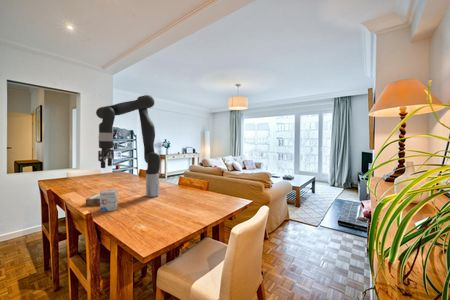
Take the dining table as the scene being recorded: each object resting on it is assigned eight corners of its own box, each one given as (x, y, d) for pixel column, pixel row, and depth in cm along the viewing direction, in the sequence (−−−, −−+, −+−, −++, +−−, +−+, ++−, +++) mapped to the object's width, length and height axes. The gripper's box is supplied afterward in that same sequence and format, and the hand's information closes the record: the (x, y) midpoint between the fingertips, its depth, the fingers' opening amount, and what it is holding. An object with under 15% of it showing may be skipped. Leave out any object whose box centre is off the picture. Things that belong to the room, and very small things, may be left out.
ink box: (99, 212, 112) (99, 192, 111) (101, 209, 117) (101, 190, 116) (116, 210, 115) (115, 191, 114) (117, 207, 120) (117, 189, 119)
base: (115, 198, 137) (115, 192, 137) (107, 204, 124) (107, 198, 124) (96, 199, 135) (95, 193, 135) (85, 205, 122) (85, 199, 122)
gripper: (107, 140, 108) (107, 168, 109) (117, 140, 122) (118, 165, 123) (92, 140, 107) (93, 168, 108) (105, 140, 121) (105, 165, 122)
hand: (106, 167), depth 115 cm, fingers open, 8 cm apart
